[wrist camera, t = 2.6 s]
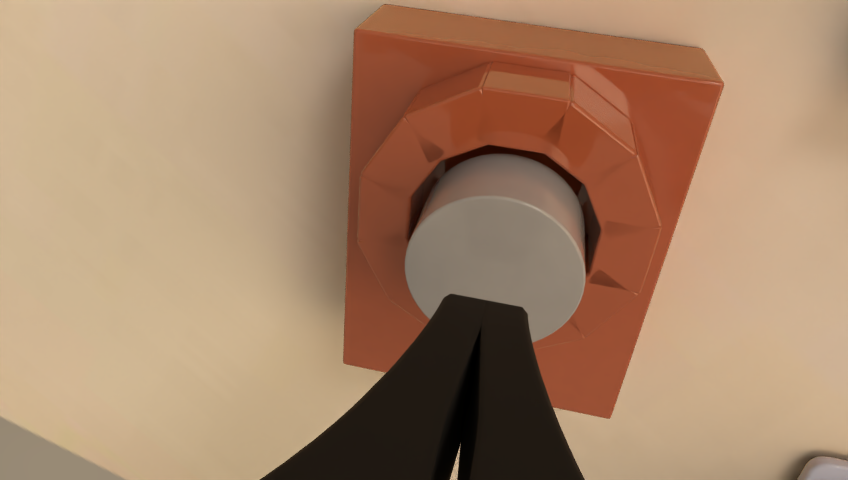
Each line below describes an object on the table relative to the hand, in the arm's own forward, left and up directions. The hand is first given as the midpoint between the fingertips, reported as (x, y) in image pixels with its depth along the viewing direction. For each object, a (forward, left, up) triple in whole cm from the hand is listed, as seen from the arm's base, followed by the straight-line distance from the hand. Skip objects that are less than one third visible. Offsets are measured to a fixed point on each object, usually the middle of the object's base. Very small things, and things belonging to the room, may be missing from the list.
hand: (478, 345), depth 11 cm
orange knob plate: (-2, 0, -8) cm, 8 cm away
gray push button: (0, 0, -4) cm, 4 cm away
